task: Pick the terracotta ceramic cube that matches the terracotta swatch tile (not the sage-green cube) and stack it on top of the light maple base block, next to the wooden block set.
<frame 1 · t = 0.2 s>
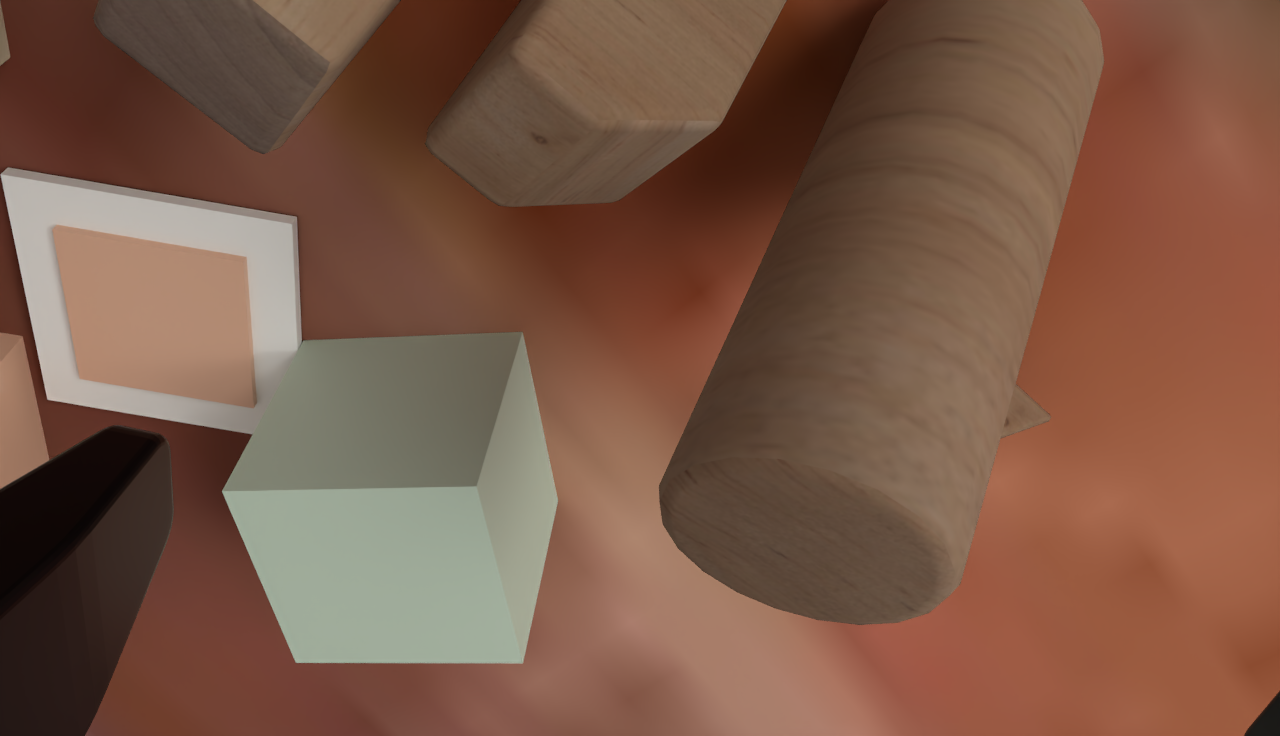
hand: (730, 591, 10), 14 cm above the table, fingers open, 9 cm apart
sage cube: (436, 421, 28), on the table
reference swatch: (167, 310, 27), on the table
wooden block set: (760, 71, 23), on the table
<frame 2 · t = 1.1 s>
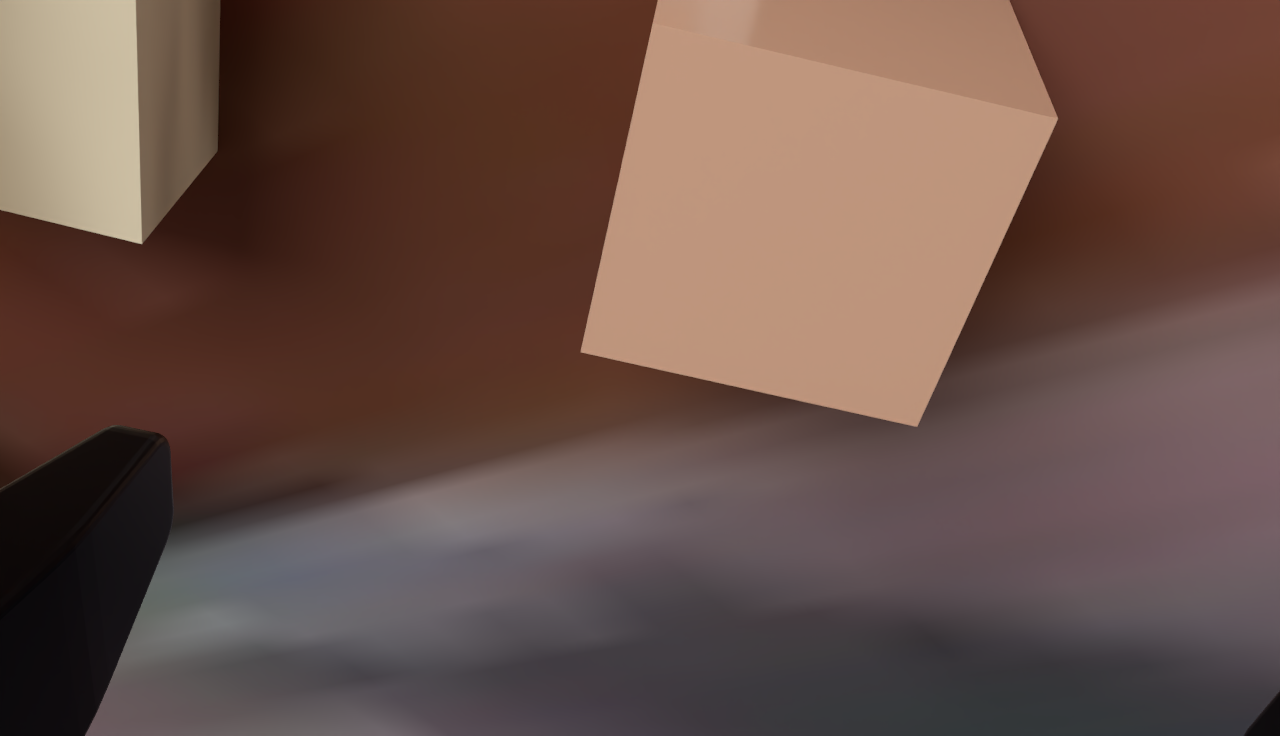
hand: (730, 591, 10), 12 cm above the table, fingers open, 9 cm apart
terracotta cube: (795, 87, 20), on the table
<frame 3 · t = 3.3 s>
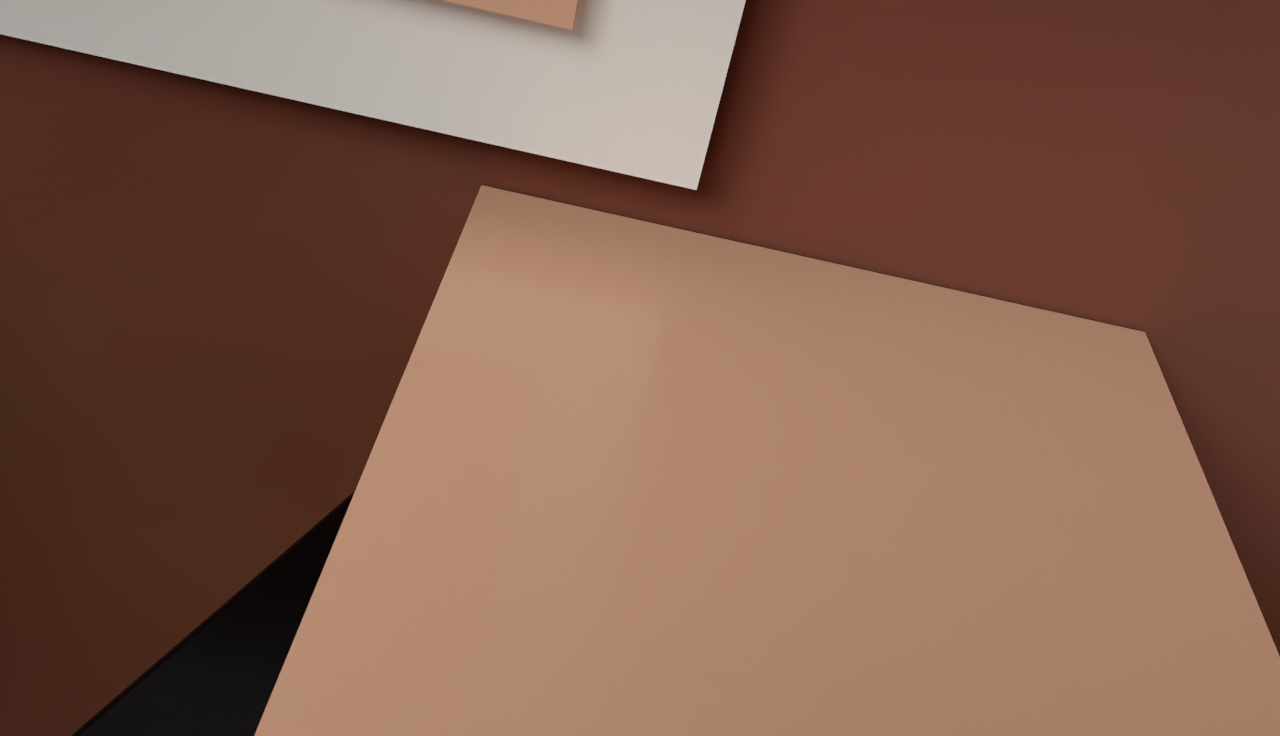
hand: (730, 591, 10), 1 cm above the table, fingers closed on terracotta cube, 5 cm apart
terracotta cube: (734, 501, 10), on the table, touching gripper
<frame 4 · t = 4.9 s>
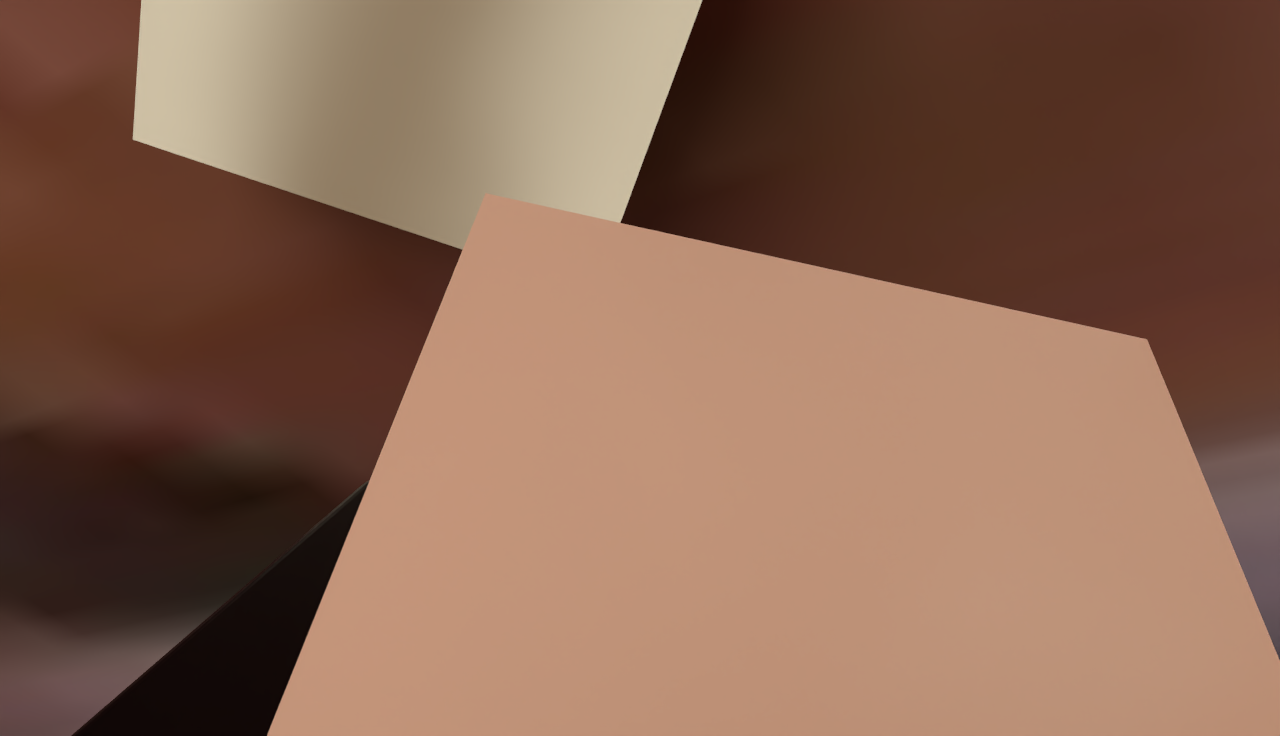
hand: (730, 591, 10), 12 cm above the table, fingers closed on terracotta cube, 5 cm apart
terracotta cube: (737, 506, 10), point 11 cm above the table, touching gripper
when the fingers open (5 cm above the table, at t = 7.0 s): terracotta cube drops 1 cm, point 3 cm above the table.
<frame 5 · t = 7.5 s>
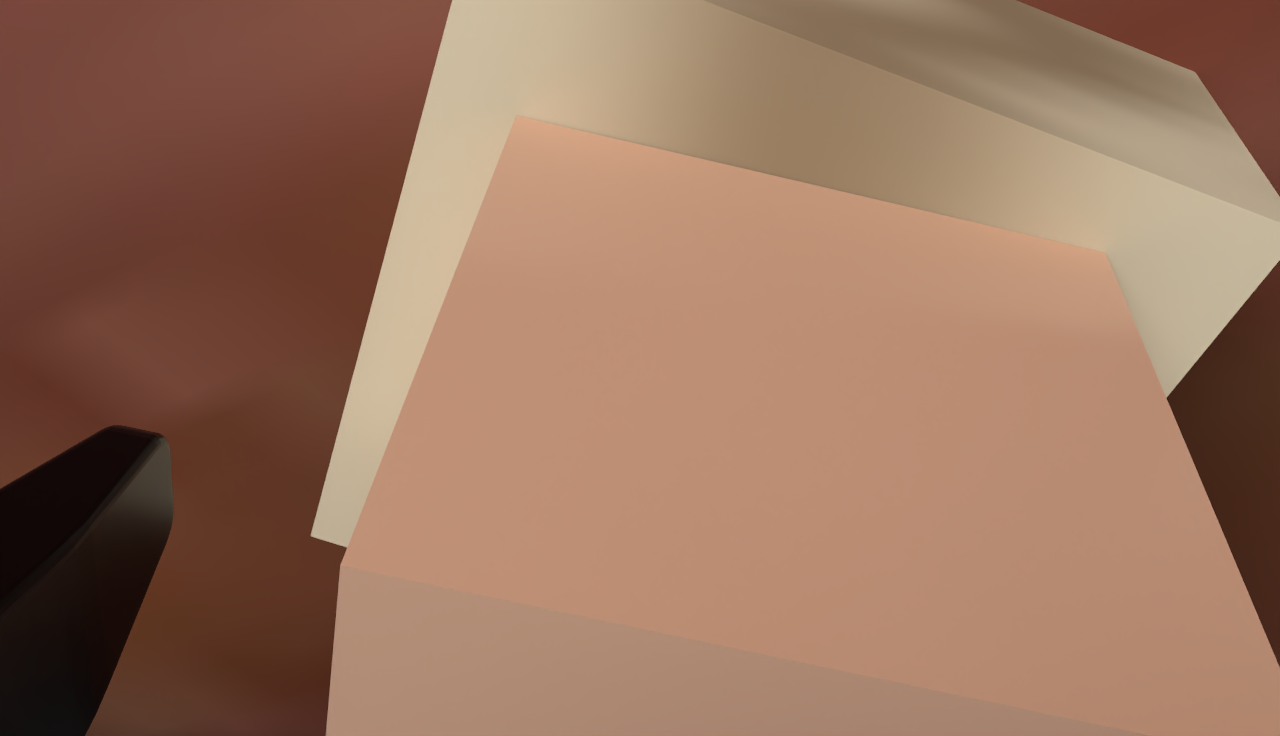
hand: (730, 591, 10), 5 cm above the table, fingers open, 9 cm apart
maple base: (744, 218, 14), on the table
terracotta cube: (737, 413, 11), point 3 cm above the table
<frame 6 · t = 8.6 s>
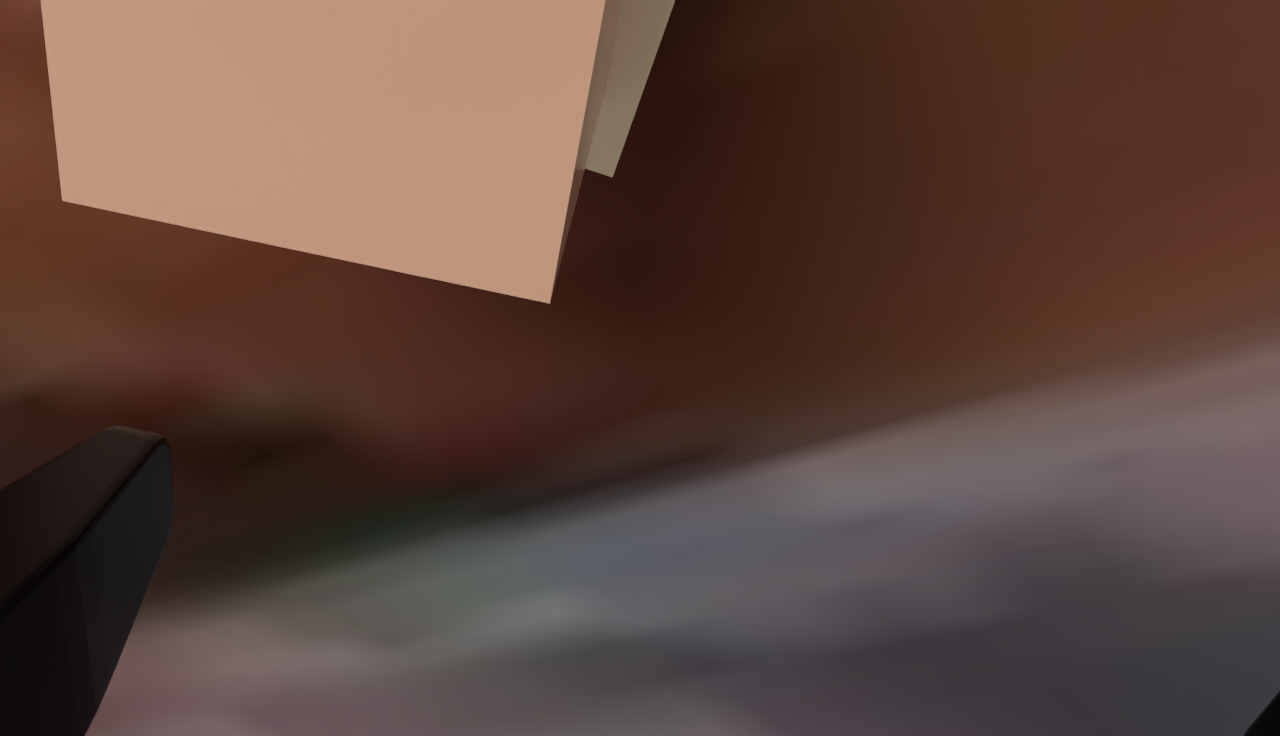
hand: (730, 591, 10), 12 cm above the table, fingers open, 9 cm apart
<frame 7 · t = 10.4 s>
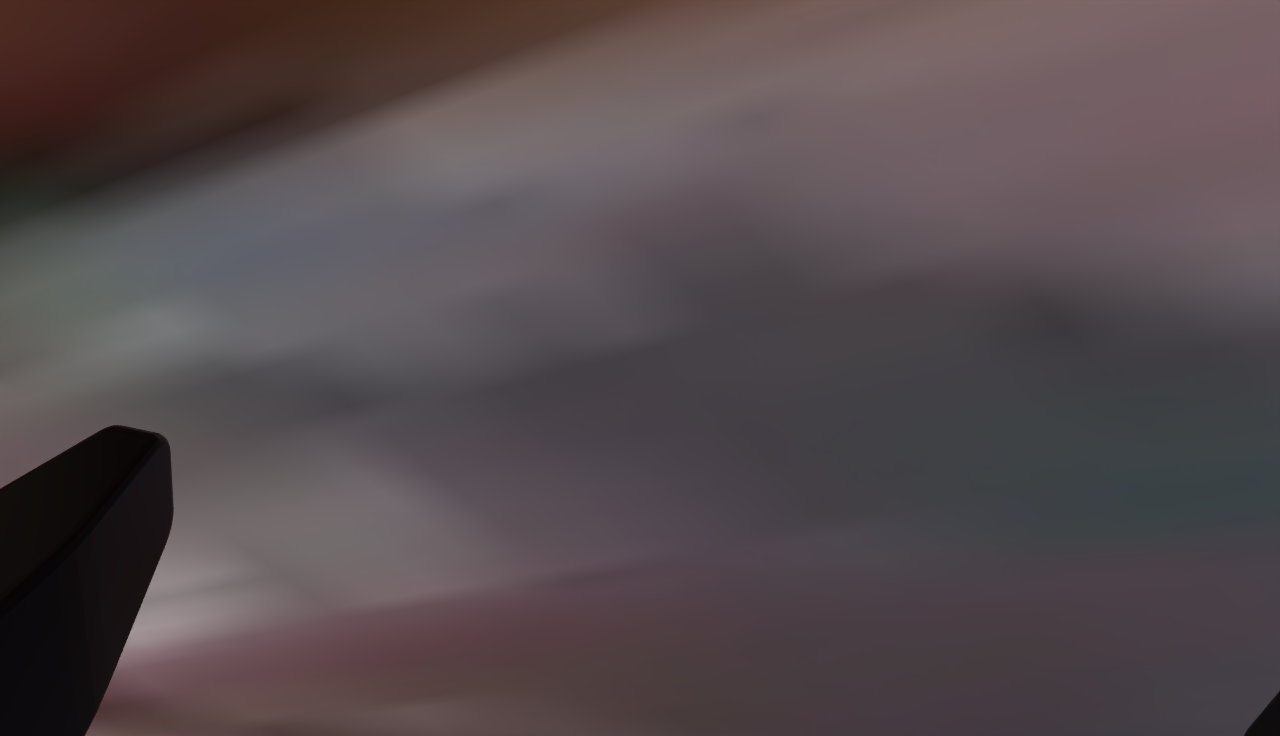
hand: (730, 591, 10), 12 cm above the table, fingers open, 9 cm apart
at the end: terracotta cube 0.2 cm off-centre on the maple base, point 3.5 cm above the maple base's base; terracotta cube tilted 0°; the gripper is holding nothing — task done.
